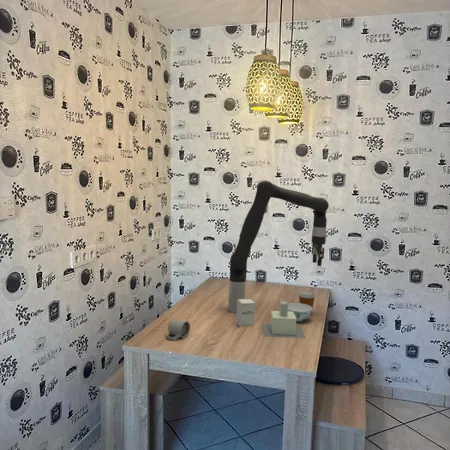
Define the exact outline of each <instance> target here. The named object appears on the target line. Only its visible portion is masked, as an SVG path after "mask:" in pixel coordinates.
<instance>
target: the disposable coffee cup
mask: <svg viewBox="0 0 450 450" xmlns="http://www.w3.org/2000/svg"><path fill="white" fill-rule="evenodd" d="M298 297H299V298H298V300H299V302H298V303H302V304H306V305H309V306H311V307H312V309H313V307H314V302H315V297H316V292H315V291H311V290H307V289H306V290H303V289H302V290H299V291H298ZM312 312H313V311H312ZM312 312H311V314H310V316H312V314H313V313H312Z"/></svg>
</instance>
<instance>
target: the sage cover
mask: <svg viewBox="0 0 450 450" xmlns="http://www.w3.org/2000/svg"><path fill="white" fill-rule="evenodd" d="M269 324H270V327H271V331H272V334H279V335H295V333H296V325H297V321H296V317H295V315H294V313H293V312H290V311H288V302H287V301H284V300H283V301H282V300H280V301H279V310H270V322H269Z"/></svg>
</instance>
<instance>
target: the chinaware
mask: <svg viewBox="0 0 450 450" xmlns="http://www.w3.org/2000/svg"><path fill="white" fill-rule="evenodd" d="M287 303H288V302H287ZM288 311H290V312H293V313H294V315H295V317H296V322H297V323H298V322H304V321H306V320H307V319H308V318H309V317H310V316H311V315H312V314H311V312H313V308H312V307H311V306H309V305H306V304H302V303H299V302H289V303H288ZM310 314H311V315H310Z"/></svg>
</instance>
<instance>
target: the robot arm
mask: <svg viewBox="0 0 450 450" xmlns="http://www.w3.org/2000/svg"><path fill="white" fill-rule="evenodd" d="M273 198H275V199H279V200H282V201H285V202H287V203H291V204H293V205H296V206H299V207H303V208H308V209H311V210H313V221H312V222H313V223H312V224H313V225H312V232H311V244H312V245H311V256H312V260H311V261H312V263H314V264H316V263H317V264H316V266H317V267H322V262H323V260H324V258H325V247H323V245H326V239H327V223H328V221H327V220H328V219H327V211H328V209H329V206H330V204H329V202H328V200H326V199H325V198H323V197H322V198H321V197H317V196H312V195H310V194H307V193H304V192H300V191H297V190H292V189H288V188H284V187H280V186H278V185H276V184H274V183H272V182H271V181H269V180H262V181H260V182H259V183H257V186H256V192H255V196H254V200H253V202H252V205H251V207H250V209H249V210H248V212H247V214H246V217H245V219H244V221H243V224H242V227H241V230H240V235H239V239H238V241H237V245H236V247H235V249H234V252H233V253H232V254H231V257H230V259H229V263H230V265H229V266H230V267H229V285H228V286H229V287H228V308H227V309H228V310H227V312H230V313H231V312H232V313H234V314H235V313H236V314H237V299H246V290H247V289H246V286H247V285H246V284H247V271H248V270H247V266H248V265H247V264H248V258H249V254H250V251H251V248H252V246H253V244H254V242H255V240H256V238H257V236H258V234H259V231H260V228H261V226H262V223H263V221H264V216H265V212H266V209H267V206H268V204H269V202H270V200H271V199H273Z"/></svg>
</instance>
